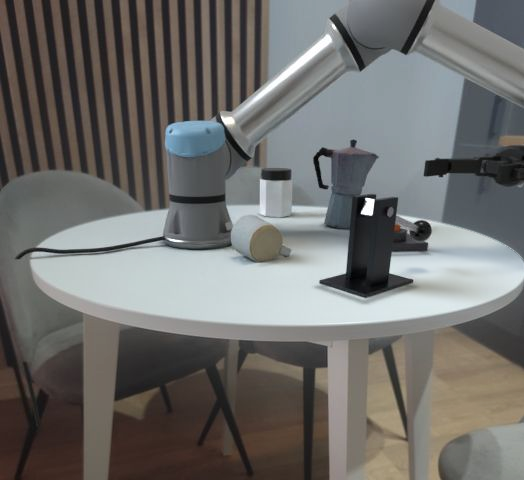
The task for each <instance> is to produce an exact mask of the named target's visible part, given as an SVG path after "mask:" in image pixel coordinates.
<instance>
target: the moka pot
mask: <svg viewBox="0 0 524 480" xmlns="http://www.w3.org/2000/svg"><path fill="white" fill-rule="evenodd" d="M357 142H358V141H357V140H356V139H350V140H349V145H350V146H348V147H345V148H339V149H335V148H334V149H332V148H326V147H323V146H322V147H321V148H320V149H319V150H318V151H317V152H315V154H314V155H313V157H312V162H313V166H314V171H315V175H316V178H317V179H316V180H317V185H318V188H319V189H322V190H328V189H329V188H331V194H330V198H329V201H328V202H329V203H328V206H327V210H326V213H325V218H324V221H323V224H324V225H325V226H329V227H332V228H336V229H347V230H350V220H351V208H352V196H357V195H362V193H363V187H365V185H366V181H367V176H368V175H369V173H370V171H371V170H372V168H373V166H374V165H375V163H376V161H377V160H378V159H380V156H379V155H377V154H376V153H375V152H372V151H371V152H370V151H367V150H363V149H361V148H358V147H356V146H357ZM321 157H325V158H330V160H331V162H330V163H331V164H330V166H331V168H330V169H331V172H330V173H331V175H330V176H331V178H330V181H331V183H330V184H332V186H331V187H330V186H329V184H328V185H327V184H324V183H323V179H322V171H321V165H320V160H319V159H320V158H321Z"/></svg>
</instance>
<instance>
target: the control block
mask: <svg viewBox="0 0 524 480" xmlns="http://www.w3.org/2000/svg"><path fill="white" fill-rule="evenodd" d="M408 232H409V230H408V229H406V228H404V227H400V231H399V232H394V238H393V246H392V253H401V252H404V253H405V252H406V253H407V252H428V247H429V242H427V241H424V242H416V241H414V240H413V239H412V238H411V237H410V233H408Z"/></svg>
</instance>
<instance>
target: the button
mask: <svg viewBox="0 0 524 480" xmlns="http://www.w3.org/2000/svg"><path fill="white" fill-rule="evenodd" d="M400 228H401V226H399V225H397V224H395V230H394V232H399V231H400Z"/></svg>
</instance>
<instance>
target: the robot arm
mask: <svg viewBox="0 0 524 480" xmlns="http://www.w3.org/2000/svg"><path fill="white" fill-rule="evenodd" d="M441 3H442V2H441V0H348V1H346V3H345V4H344V5H342V6H341V7H340V8H339V9H337V11H336V12H334V13H333V14H332V15H331V16H330V17H329V18H328V19H327V20H326V25H325V30H324V32H323V33H322V35H320V36H319V37H318V38H317V39H315V40H314V41H313V42H312V43H310V45H309V46H307V47H306V48H305V49H304V50H303V51H301V52H300V53H299V54H298V55H297V56H296V57H294V58H293V59H291V60H290V62H288V63H287V64H285V66H284V67H283V68H282V69H280V70H279V71H278V72H277V73H276V74H275V75H273V76H272V77H271V78H270V79H269V80H267V82H265V83H264V84H262V85H261V86H260V87H259V88H258V89H257V90H255V92H254V93H252V94H251V95H250V96H248V98H246V99H245V100H244V101H242V103H241V104H239V105H238V106H237V107H235V108H234V109H233V110H232V111H227V110H221V111H219V112H218V113H217V114H216V115H215V116H214V117H213V118H211V119H210V120H186V121H178V122H174V123H173V122H172V123H171V124H169V125H167V127H166V129H165V140H164V147H165V148H164V149H165V154H166V155H165V156H166V169H167V171H166V172H167V186H168V199H169V205H168V210H167V214H166V218H165V223H164V227H163V229H162V230H163V231H162V236H157V237H151V238H147V239H142V240H137V241H133V242H128V243H122V244H117V245H111V246H105V247H94V248H72V249H71V248H69V249H58V248H48V247H37V246H36V247H29V248H26V249H24V250H22V251H20V252H19V253H18V254H17V255H16V256H15V257H14V260H21V259H22V258H23V257H24V256H27V255H28V254H32V253H48V254H57V255H69V254H70V255H71V254H90V253H92V254H93V253H102V252H103V253H104V252H110V251H111V252H112V251H116V250H117V251H118V250H122V249H127V248H131V247H136V246H137V247H138V246H141V245H146V244H151V243H156V242H161V241H163V243H164V245H167V246H169V247H173V248H177V249H179V248H180V249H191V250H203V249H216V248H223V247H227V246H230V245H232V243H231V230H232V227H233V225H234V224H233V221H232V219H231V217H230V212H229V209H228V207H227V200H226V193H227V191H226V181H227V180H228V179H230V178H232V177H233V176H234V175H235V174H236V172H237V171H238V170H239V169H241V167H243V166H244V165H246V164H247V163H248V162H249V161H250V160H251V159H253V158H254V157H255V151H256V147H257V146H258V145H259V144H260V143H261V142H262V141H264V140H265V139H266V138H268V137H269V136H270V135H271V134H273V133H274V132H275V131H277V129H279V128H280V127H281V126H282V125H284V124H285V123H286V122H287V121H289V120H290V119H292V117H294V116H295V115H296V114H298V113H299V112H300V111H301V110H303V109H304V108H305V107H306V106H308V105H309V104H310V103H311V102H312V101H314V100H315V99H316V98H318V97H319V96H320V95H321V94H322V93H324V92H326V90H328V89H329V88H330V87H331V86H332V85H334V84H335V83H336V82H338V81H339V80H340V79H341V78H342V77H343V76H345V75H346V74H347V73H353V74H360V72H362V71H363V70H364V69H365V70H366V68H368V67H369V66H370V65H371V64H373V63H374V62H375V61H376V60H377V59H378V58H381V57H382V56H383V55H386V54H388V53H389V52H391V51H392V50H393V51H397V52H399V53H401V54H403V55H404V56H407V57H408V56H411V55H414V54H417V55H420V56H422V57H423V58H425V59H427V60H429V61H431V62H432V63H434V64H437V65H439V66H441V67H443V68H445V69H447V70H448V71H450V72H453V73H454V74H457V75H458V76H460V77H462V78H464V79H466V80H468V81H470V82H472V83H474V84H476V85H478V86H479V87H482V88H484V89H486V90H487V91H490V92H491V93H493V94H496V95H497V96H499V97H502V98H503V99H505V100H507V101H508V102H511V103H512V104H515V105H517V106H519V107H521V108H522V109H524V48H523V47H522V46H519V45H517V44H515V43H513V42H511V41H509V40H508V39H506V38H504V37H502V36H500V35H498V34H496V33H494V32H492V30H489V29H488V28H485V27H483V26H481V25H479V24H478V23H475V22H474V21H472V20H470V19H468V18H466V17H465V16H463V15H460V14H459V13H457V12H455V11H453V10H452V9H450V8H447V7H446V6H444V5H442V4H441ZM481 171H482V172H481ZM447 174H473V175H474V176H476V177H487V178H490V179H491V178H492V179H493V181H494V182H495V183H496V184H498V185H499V186H501V187H507V188H510V187H517V188H522V187H523V186H524V143H523V144H512V145H507V146H504V147H502V148H501V149H500V150H499V151H497V153H495V155H490V156H478V157H477V156H474V157H465V158H463V157H462V158H460V157H459V158H458V157H457V158H456V157H455V158H451V157H450V158H441V157H436V158H434V159H428V160H427V159H426V160H425V162H424V170H423V177H424V178H425V177H426V178H428V177H436V176H438V178H444V176H446V175H447ZM21 363H22V367H23V372H24V375H25V379H26V383H27V387H28V388H27V389H28V392H29V397H30V400H31V405H32V408H33V414H34V418H35V424H36V428H40V427H42V424H41V419H40V414H39V408H38V404H37V399H36V395H35V391H34V386H33V382H32V378H31V374H30V369H29V366H28V365H29V364H28V361H21Z"/></svg>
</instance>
